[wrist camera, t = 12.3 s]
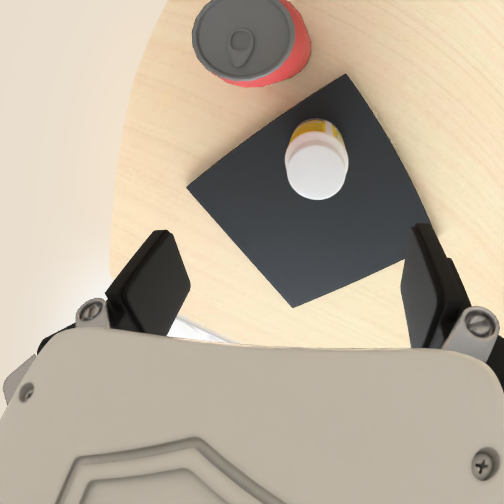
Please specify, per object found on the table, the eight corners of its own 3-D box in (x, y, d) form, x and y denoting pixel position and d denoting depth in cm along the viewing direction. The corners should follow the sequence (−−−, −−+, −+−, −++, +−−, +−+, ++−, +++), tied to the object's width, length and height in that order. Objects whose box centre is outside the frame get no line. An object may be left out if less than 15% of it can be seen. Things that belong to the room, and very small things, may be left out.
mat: (188, 185, 32) (185, 187, 32) (345, 73, 22) (346, 73, 22) (293, 305, 39) (292, 308, 38) (436, 239, 29) (438, 242, 28)
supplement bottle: (283, 152, 27) (268, 185, 20) (304, 109, 24) (298, 126, 18) (328, 175, 27) (330, 216, 21) (352, 133, 25) (364, 161, 18)
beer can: (234, 75, 24) (177, 85, 15) (242, 11, 20) (189, -19, 11) (305, 86, 24) (295, 99, 14) (316, 20, 20) (313, -13, 10)
